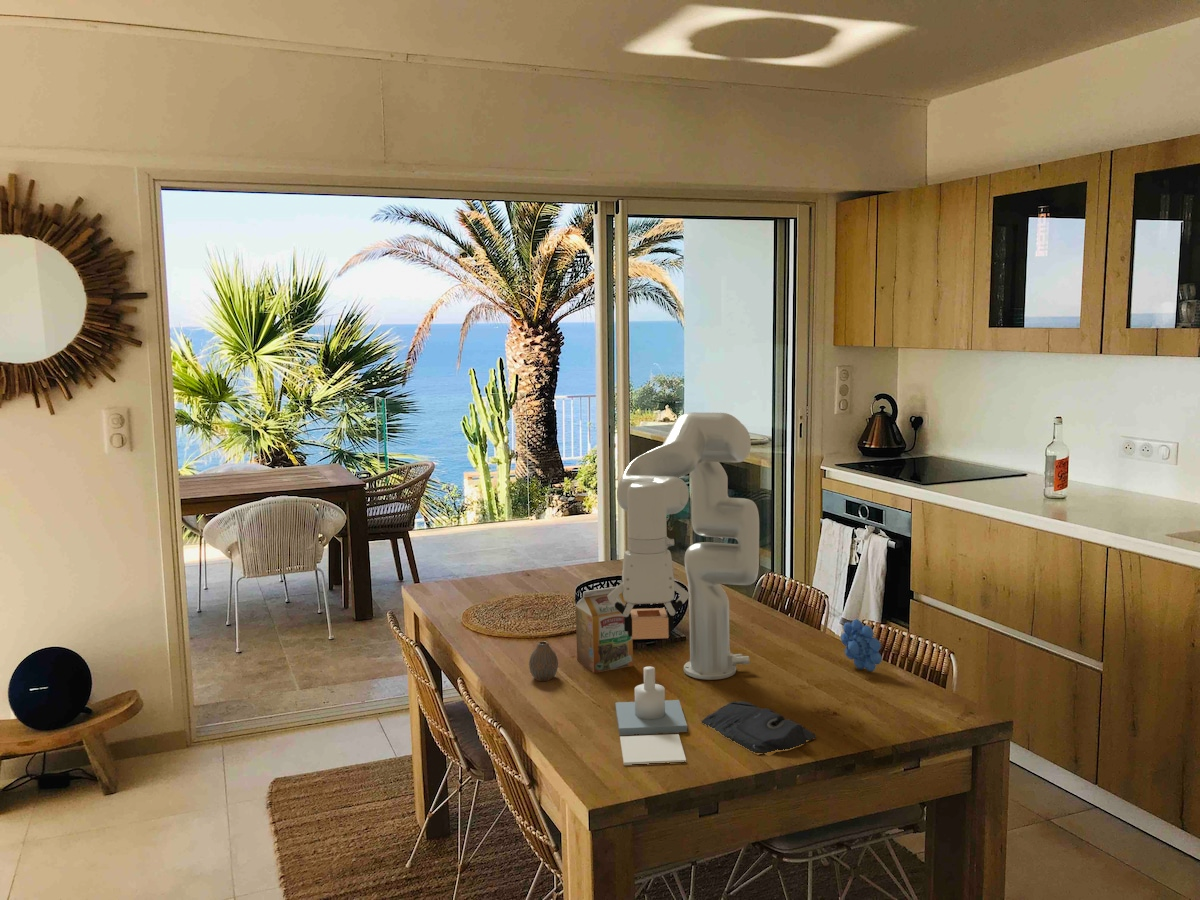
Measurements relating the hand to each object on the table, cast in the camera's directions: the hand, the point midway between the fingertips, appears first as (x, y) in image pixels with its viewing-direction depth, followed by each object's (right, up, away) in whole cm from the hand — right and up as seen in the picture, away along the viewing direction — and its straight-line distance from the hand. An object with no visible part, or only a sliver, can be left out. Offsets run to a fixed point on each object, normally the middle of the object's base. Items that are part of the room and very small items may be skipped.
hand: (649, 633), depth 195 cm
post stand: (+1, -21, +16) cm, 27 cm away
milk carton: (-8, -17, +52) cm, 56 cm away
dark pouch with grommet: (+23, -22, +9) cm, 33 cm away
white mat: (+1, -23, +1) cm, 23 cm away
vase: (-23, -19, +43) cm, 52 cm away
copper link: (0, 0, 0) cm, 0 cm away
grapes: (+52, -17, +43) cm, 70 cm away
